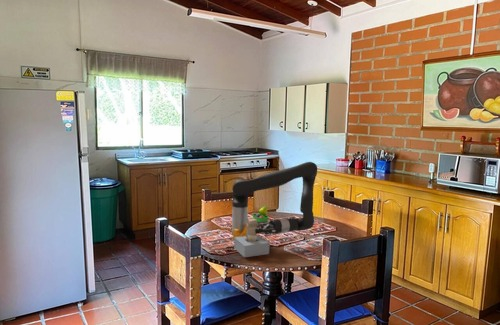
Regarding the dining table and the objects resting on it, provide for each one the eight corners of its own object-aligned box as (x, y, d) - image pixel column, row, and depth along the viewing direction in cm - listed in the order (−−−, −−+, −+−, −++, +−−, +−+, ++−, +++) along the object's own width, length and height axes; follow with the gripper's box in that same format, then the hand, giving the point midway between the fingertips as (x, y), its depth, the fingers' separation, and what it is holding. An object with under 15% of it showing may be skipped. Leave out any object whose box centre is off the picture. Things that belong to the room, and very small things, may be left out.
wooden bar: (246, 248, 189) (246, 219, 187) (253, 247, 191) (254, 218, 189) (248, 250, 186) (249, 220, 185) (256, 249, 188) (256, 219, 186)
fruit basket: (251, 221, 246) (251, 205, 245) (262, 220, 250) (263, 204, 248) (258, 225, 236) (259, 208, 234) (270, 224, 239) (271, 207, 238)
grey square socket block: (234, 248, 192) (234, 237, 192) (257, 245, 198) (258, 234, 197) (244, 257, 180) (244, 245, 179) (269, 253, 185) (269, 242, 185)
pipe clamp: (238, 242, 203) (239, 231, 202) (233, 240, 205) (233, 229, 205) (251, 237, 212) (252, 226, 211) (246, 235, 215) (246, 225, 214)
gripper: (273, 216, 200) (246, 218, 193) (286, 222, 187) (257, 225, 181) (273, 229, 201) (246, 232, 194) (285, 236, 188) (257, 240, 181)
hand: (252, 228), depth 187 cm, fingers open, 8 cm apart
